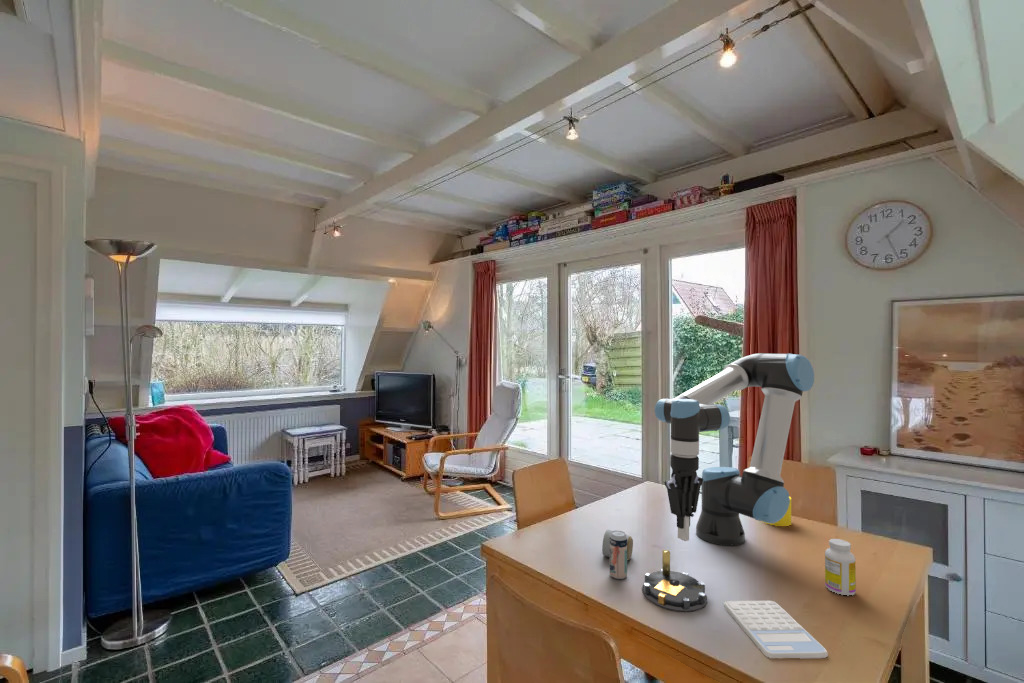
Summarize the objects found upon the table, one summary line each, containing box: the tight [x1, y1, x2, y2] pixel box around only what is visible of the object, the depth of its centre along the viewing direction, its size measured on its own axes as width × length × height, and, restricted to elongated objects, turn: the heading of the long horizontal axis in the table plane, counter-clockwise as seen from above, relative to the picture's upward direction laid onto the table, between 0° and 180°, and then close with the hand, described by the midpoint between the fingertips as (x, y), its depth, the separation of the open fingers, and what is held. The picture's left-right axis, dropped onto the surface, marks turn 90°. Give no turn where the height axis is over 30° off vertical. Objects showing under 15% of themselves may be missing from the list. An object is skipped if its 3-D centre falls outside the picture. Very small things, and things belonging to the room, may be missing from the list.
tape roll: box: [761, 495, 792, 527], centre depth 171 cm, size 10×10×9 cm
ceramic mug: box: [601, 529, 634, 561], centre depth 144 cm, size 11×8×8 cm
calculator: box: [723, 600, 829, 659], centre depth 107 cm, size 13×20×2 cm, turn 2°
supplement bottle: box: [824, 538, 857, 597], centre depth 124 cm, size 7×7×13 cm
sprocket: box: [643, 549, 707, 609], centre depth 122 cm, size 16×16×8 cm
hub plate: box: [642, 581, 708, 613], centre depth 122 cm, size 16×16×1 cm
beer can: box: [609, 530, 628, 580], centre depth 131 cm, size 5×5×12 cm
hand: (683, 538), depth 130 cm, fingers closed
